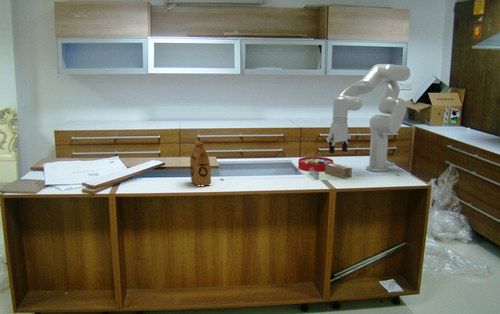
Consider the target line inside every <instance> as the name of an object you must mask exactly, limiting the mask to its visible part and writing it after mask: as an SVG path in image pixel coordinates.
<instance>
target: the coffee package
mask: <svg viewBox="0 0 500 314" xmlns="http://www.w3.org/2000/svg"><path fill="white" fill-rule="evenodd" d="M194 145H195V146H194V147H193V148H192V151H191V153H190V156H189V157H190V158H189V159H190V162H189V163H190V164H189V166H190V167H189V168H190V170H189V174H190V181H191V182H192V183H193V184H194V183H195V184H196V185H195V184H194V185H195V186H197V185H209V184H211V185H212V175H211V174H212V171H211V168H212V167H211V163H210V158H209V156H208V155H209V154H208V153H207V151H206V148H205V146H204V143H203V142H201V141H200V140H199V141H198V140H195V141H194Z"/></svg>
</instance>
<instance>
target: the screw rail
mask: <svg viewBox="0 0 500 314" xmlns="http://www.w3.org/2000/svg"><path fill="white" fill-rule="evenodd" d="M309 169H310V171H309V173H310V174H311V175H312V176H313V177H314V178H316V179H317V181H320V180H319V172H318V171H314V170H313V169H314V168H309Z"/></svg>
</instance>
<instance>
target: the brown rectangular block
mask: <svg viewBox="0 0 500 314" xmlns="http://www.w3.org/2000/svg"><path fill="white" fill-rule="evenodd" d="M352 171H353V168H352V167H349V166H345V165H341V164H337V163H334V162H333V163H332V164H326V165H325V174H328V175H332V176H335V177H339V178H342V179H341V180H346V179H345V178H350V177H352V174H353V172H352Z"/></svg>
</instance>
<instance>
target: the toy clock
mask: <svg viewBox="0 0 500 314" xmlns="http://www.w3.org/2000/svg"><path fill="white" fill-rule="evenodd" d="M332 163H334V160H333V159H332V158H329V157H323V156H305V157H300V158H298V163H297V164H298V165H297V166H298V167H297V168H298V169H299V170H301V171H304V172H305V171H306V172H310V169H309V168H314V169H313V170H314V171H318V172H325V165H326V164H332Z"/></svg>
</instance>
